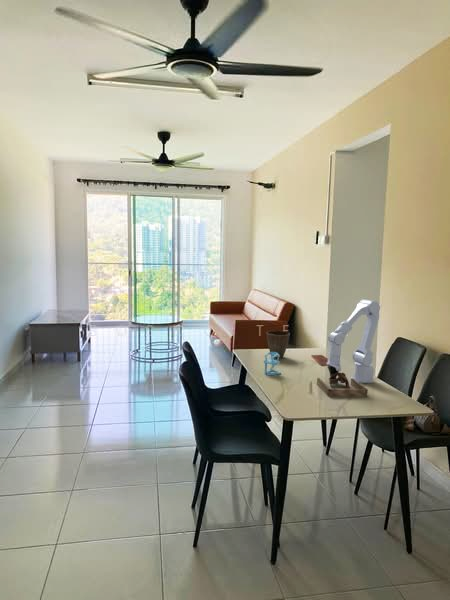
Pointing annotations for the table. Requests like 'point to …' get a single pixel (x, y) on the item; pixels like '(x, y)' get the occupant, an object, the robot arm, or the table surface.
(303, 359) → the table surface
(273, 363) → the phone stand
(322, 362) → the wooden tablet
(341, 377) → the pottery mug
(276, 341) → the plant pot
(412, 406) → the table surface
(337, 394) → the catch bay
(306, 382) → the table surface
